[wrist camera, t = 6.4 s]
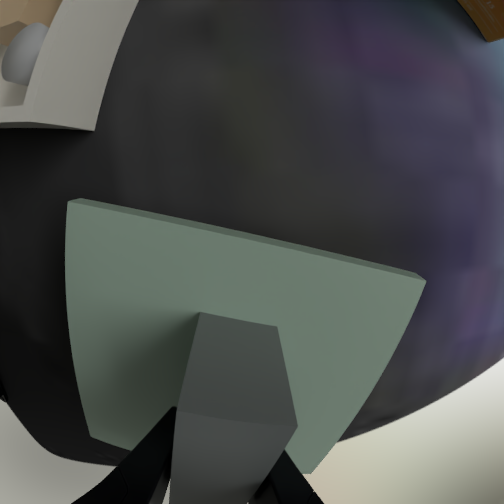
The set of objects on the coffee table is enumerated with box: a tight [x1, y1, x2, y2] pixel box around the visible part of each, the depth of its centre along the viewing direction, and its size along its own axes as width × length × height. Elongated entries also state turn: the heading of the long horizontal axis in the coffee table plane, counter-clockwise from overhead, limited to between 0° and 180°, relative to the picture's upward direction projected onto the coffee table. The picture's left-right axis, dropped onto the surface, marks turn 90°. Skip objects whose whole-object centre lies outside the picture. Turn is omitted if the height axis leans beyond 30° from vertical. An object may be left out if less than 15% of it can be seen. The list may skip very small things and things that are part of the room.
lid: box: [65, 198, 426, 504], centre depth 8 cm, size 12×12×6 cm
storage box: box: [0, 0, 139, 131], centre depth 7 cm, size 11×11×5 cm
